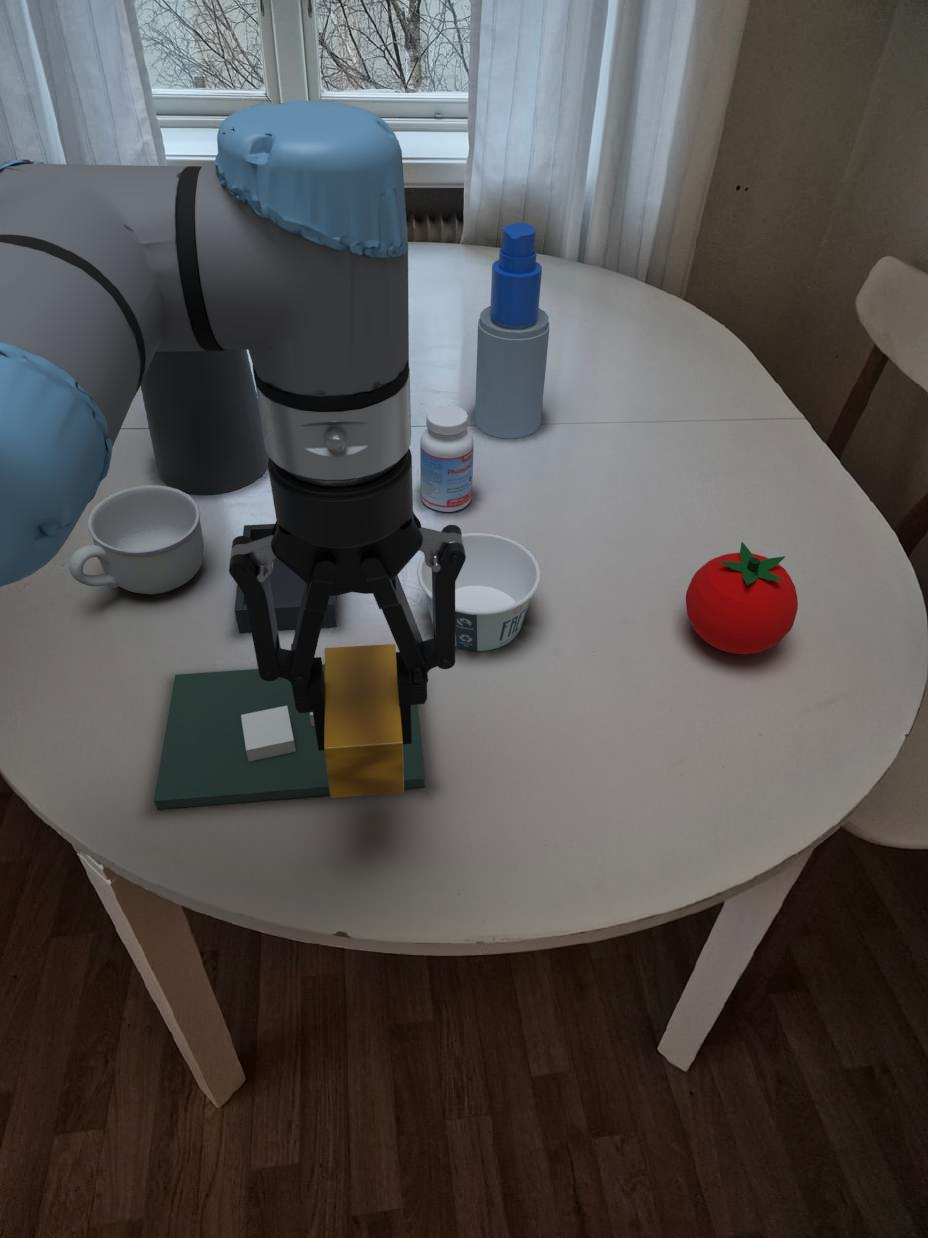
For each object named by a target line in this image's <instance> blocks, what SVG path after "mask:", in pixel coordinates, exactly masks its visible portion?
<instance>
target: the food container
mask: <svg viewBox="0 0 928 1238" xmlns="http://www.w3.org/2000/svg"><path fill="white" fill-rule="evenodd" d="M462 539H463V544H464V550H465V555H466V559H465V562H464V564H463V567H462V569H461V571H460V573H459V575H458V577H457V579H456V581H455V648H458V649H460V650H466V651H470V652H485V651H491V650H496V649H499V648H501V647H504V646H506V645H507V644H510V643H511V642H512V641H513V640H515V638H516V637H517V636H518V634H519V632H520V631H521V628H522V625H523V623H524V620H525V617H526V613H527V611H528V608H529V606H530V602H531V599H532V597H533V596H534V595H535V594H536V592H537V591H538V589H539V586H540V584H541V578H542V572H541V571H542V570H541V567H540V564H539V562H538V560H537V558H536V557H535V556H534V554H533V553H532V552H531V551H530V550H529V549H528V548H527V547H526V546H524V545H522V544H521V543H519V542H517V541H515V540H513V539H511V538H508V537H506V536H502V535H499V534H495V533H487V532H467V533H462ZM416 576H417V581H418V584H419V586H420V588H421V589H422V591H423V592H424V594H425V599H426V603H427V607H428V611H429V616H430V619H431V623H432V625H433V603H432V569H431V567H429V566H427V565H426V562H425V556H424V553H423V554H422V556H421V557H420V559H419V560H418V564H417V567H416Z"/></svg>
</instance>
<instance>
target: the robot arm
mask: <svg viewBox="0 0 928 1238" xmlns="http://www.w3.org/2000/svg"><path fill="white" fill-rule="evenodd" d="M216 143H217V144H216V145H217V154H216V156H215V159H214V163H203V164H202V165H200V166H199V165H187V166H186V165H185V166H184V165H182V166H180V165H132V164H131V165H129V164H127V165H126V164H79V163H78V164H73V163H72V164H70V163H69V164H68V163H44V161H38V160H34V161H31V160H30V159H21V158H20V159H12V160H7V161H6V162H3V163H0V588H1V587H4V586H7V585H10V584H13V583H17V582H19V581H22V580H24V579H25V578H28V577H30V576H32V575H33V574H35V573H37V571H39V570H40V569H42V568H44V567H45V566H46V565H47V564H48V563H49V562H50V561H52V560H53V558H54V557H56V555H57V554H58V553H59V552H60V550H61V549H62V547H63V546H64V545H65V543H66V542H67V540H68V539H69V538H70V535H71V533H72V532H73V530H74V529H75V527H76V525H77V524H78V522H79V520H80V519H81V516H82V515H83V513H84V512H85V509H86V507H87V506H88V504H90V502H92V500H93V499H95V496H96V494H97V492H98V490H99V487H100V485H101V483H102V481H103V480H104V479H105V478H106V477H107V476H108V473H109V470H110V466H111V461H112V454H113V447H114V446H115V445H114V444H115V443H116V440H117V438H118V436H119V433H120V431H121V428H122V426H123V424H124V421H125V419H126V418H127V415H128V412H129V410H130V408H131V406H132V403H133V401H134V399H135V397H136V396H137V393H138V392H139V390H140V389H141V383H142V381H143V379H144V376H145V374H146V372H147V370H148V367H149V365H150V363H151V360H152V358H153V356H154V354H155V352H170V351H225V350H226V349H245V350H247V351H248V353H249V354H248V355H249V357H250V360H251V363H252V375H253V380H254V384H255V389H256V393H257V398H258V404H259V411H260V418H261V425H262V431H263V438H264V445H265V449H266V451H267V453H268V455H269V460H268V468H267V470H268V475H269V481H270V487H271V494H272V500H273V506H274V513H275V519H276V520H275V523H274V524H275V525H274V527H273V529H272V535H271V536H268V537H265V538H262V539H259V540H256V541H252V540H251V539H250V538H249V537H247V536H243V535H238V536H236V537H234V538H233V540H232V543H231V550H230V558H229V567H228V572H229V575H230V576H231V578H232V579H233V580H234V582H235V583H236V586H237V585H238V586H239V587H240V589H241V590H242V592H243V593H244V595H245V600H246V606H247V611H248V616H249V622H250V627H251V632H250V633H251V637H252V642H253V649H254V654H255V658H256V664H257V669H258V670H259V675H260V677H261V679H263V680H265V681H275V680H276V679H277V678H278V677H279V678H284V679H287V680H288V681H290V683H291V685H292V690H293V696H294V702H295V707H296V710H297V711H298V712H299V713H310V712H313V717H314V724H315V730H316V737H317V744H318V750H319V751H322V750H324V703H325V682H324V674H323V667H322V664H323V659H322V656H317V657H316V651H317V647H318V643H319V638H320V634H321V630H322V628H321V626H322V622H323V617H324V613H326V610H327V606H328V602H329V597H330V596H336V597H337V596H342V595H345V594H349V593H355V594H356V593H357V594H364V595H368V594H369V595H370V594H372V595H373V597H374V600H375V602H376V605H377V607H378V608H379V610H381V611H382V613H383V616H384V618H385V621H386V623H387V625H388V628H389V630H390V632H391V635H392V638H393V639H394V642H395V645H396V647H397V649H398V651H396V663H397V682H398V695H399V707H400V712H401V726H402V739H403V744H412V733H411V705H417V706H418V705H425V703H426V702H427V700H428V682H429V676H428V673H429V671H431V670H432V669H434V668H437V667H438V668H439V669H441V670H449V669H451V668H453V667H454V666H455V664H456V647H455V581H456V579H457V577H458V575H459V573H460V571H461V569H462V567H463V564H464V562H465V559H466V555H465V550H464V544H463V539H462V534H463V533H462V530H461V528H460V527H459V526H458V525H456V524H448V525H445V526H444V527H443V528H442V530H436V529H432V528H428V527H423V526H422V524H421V521H420V520H419V518H418V517H417V515H416V514H415V512H414V494H413V492H414V491H413V456H412V451H411V448H410V447H411V445H412V412H411V411H412V410H411V409H412V408H411V379H410V378H411V376H410V375H411V373H410V371H411V370H410V352H409V351H410V337H409V335H410V334H409V333H410V331H409V330H410V329H409V327H410V324H409V320H410V319H409V318H410V317H409V313H410V311H409V236H408V235H409V234H408V223H407V209H406V196H405V182H404V181H405V180H404V167H403V150H402V148H401V144H400V142H399V139H398V138H397V135H396V133H395V132H394V130H393V129H392V128H391V127H390V125H389V124H388V123H387V122H386V121H385V120H384V119H383V118H381V117H380V116H379V115H377V114H375V113H374V112H372V111H369V110H368V109H365V108H362V107H359V106H356V105H352V104H348V103H342V102H335V101H325V100H298V99H297V100H289V101H287V102H284V103H283V102H282V103H259V104H256V105H252V106H247V107H243V108H241V109H239V110H237V111H235V112H233V113H231V114H230V115H228V116H227V117H226V118H225V119H224V120H223V121H222V122H221V123H220V125H219V127H218V130H217V134H216ZM419 551H420V552H422V553H423V554H424V556H425V562H426V565H427V566H429V567H431V569H432V603H433V624H432V636H433V638H429V639H426V640H424V639H423V637H422V634H421V632H420V629H419V627H418V624H417V622H416V619H415V616H414V614H413V611H412V609H411V606H410V604H409V603H410V602H409V600H408V599H407V596H406V593H405V591H404V588H403V586H402V583H401V580H400V578H399V574H400V573H401V572H402V571H403V569H404V568H405V567H406V566H407V565H408V563H410V562H411V560H412V559H413V558H414V557H415V555H416V554H417V553H418V552H419ZM277 558H278V559H279V560H280V561H281V562H282V563H283V564H285V565H286V566H287V567H288V568H289V569H291V570H292V571H293V572H294V573H295V574H296V575H298V576H299V577H300V578H301V579H302V580H303V581H305V586H304V591H303V596H302V601H301V605H300V610H299V615H298V620H297V625H296V629H294V635H293V640H292V643H291V644H290V649H287V648H286V649H285V648H281V642H280V636H279V630H278V628H277V622H276V615H275V609H274V602H273V596H272V590H271V583H270V577H269V576H270V575H271V574H272V572H273V561H274V560H275V559H277Z"/></svg>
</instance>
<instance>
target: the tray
mask: <svg viewBox="0 0 928 1238" xmlns="http://www.w3.org/2000/svg"><path fill="white" fill-rule="evenodd" d="M274 525H275V523H263V524H262V523H261V524H244V525H243V530H242V531H243V532H242V536H247V537H249V538H250V539H251V540H252V541H256V540H259V539H262V538H265V537H268V536H271V535H272V529H273V527H274ZM269 577H270V583H271V590H272V596H273V602H274V609H275V615H276V622H277V628H278V631H289V630H290V631H291V630H296V625H297V620H298V615H299V610H300V605H301V601H302V596H303V591H304V586H305V581H303V580H302V579H301V578H300V577H299V576H298V575H296V574H295V573H294V572H293V571H292V570H291V569H289V568H288V567H287V566H286V565H285V564H283V563H282V562H281V561H280V560H279V559H278V558H277V559H275V560H274V561H273V572H272V574H271V575H270V576H269ZM234 603H235V604H234V610H233V611H234V615H235V621H236V624H237V628H238V633H240V634H244V633H252V632H251V627H250V622H249V616H248V611H247V606H246V600H245V595H244V593H243V592H242V590H241V589H240V587H239V586H238V585H237V584H236V594H235V601H234ZM337 623H338V622H337V596H330V597H329V602H328V606H327V610H326V613H324V617H323V622H322V626H321V629H322V628H334V627H335V628H336V627H337Z"/></svg>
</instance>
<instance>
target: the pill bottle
mask: <svg viewBox="0 0 928 1238" xmlns="http://www.w3.org/2000/svg"><path fill="white" fill-rule="evenodd" d="M425 419H426V422H425V425H426V429H425V430H424V431H423V432H422V434H421V436H420V441H419V443H420V444H419V447H420V449H419V451H420V453H419V454H420V458H419V459H420V461H419V462H420V463H419V464H420V465H419V466H420V498H421V501H422V503H423V504H424V505H425V506H426V507H428V508H429V509H433V510H434V511H438V512H444V513H451V512H456V511H460V510H462V509H464V508H465V507H467V506H468V505H469V504H470V503H471V500H472V497H473V475H474V473H473V472H474V448H475V447H474V437H473V435H472V433H471V431H470V430H469V429H468V426H469V415H468V412H467V411H466V410H465V409H464V408H462V407H459V406H457V405H452V404H451V405H450V404H442V405H441V404H440V405H437V406H434V407H431V408H430V409H429V410H428V411H427V413H426V418H425Z"/></svg>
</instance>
